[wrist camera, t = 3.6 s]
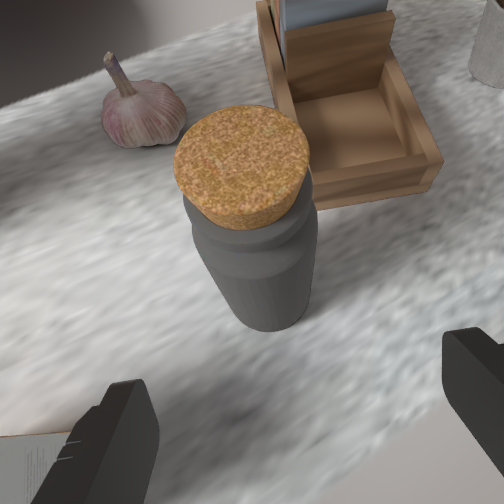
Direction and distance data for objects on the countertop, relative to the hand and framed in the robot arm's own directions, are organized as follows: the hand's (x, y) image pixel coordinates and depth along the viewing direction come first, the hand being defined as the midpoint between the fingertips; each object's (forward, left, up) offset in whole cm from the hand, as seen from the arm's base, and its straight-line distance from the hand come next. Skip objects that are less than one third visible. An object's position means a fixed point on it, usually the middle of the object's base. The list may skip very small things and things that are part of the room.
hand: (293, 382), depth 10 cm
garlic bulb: (-25, +9, -15) cm, 30 cm away
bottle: (-6, +4, -14) cm, 16 cm away
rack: (-14, +22, -14) cm, 29 cm away
